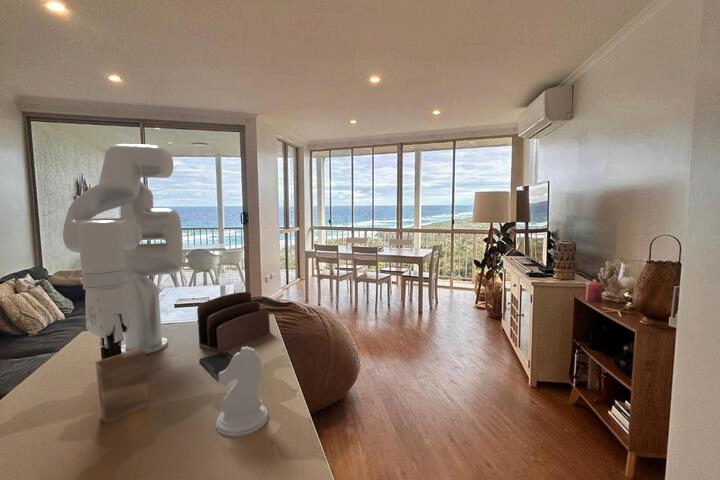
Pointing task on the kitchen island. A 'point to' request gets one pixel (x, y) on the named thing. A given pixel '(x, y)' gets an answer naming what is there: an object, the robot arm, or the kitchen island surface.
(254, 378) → the chess piece
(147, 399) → the tan flat block
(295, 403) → the kitchen island surface
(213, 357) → the phone
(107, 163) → the robot arm
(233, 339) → the letter holder
